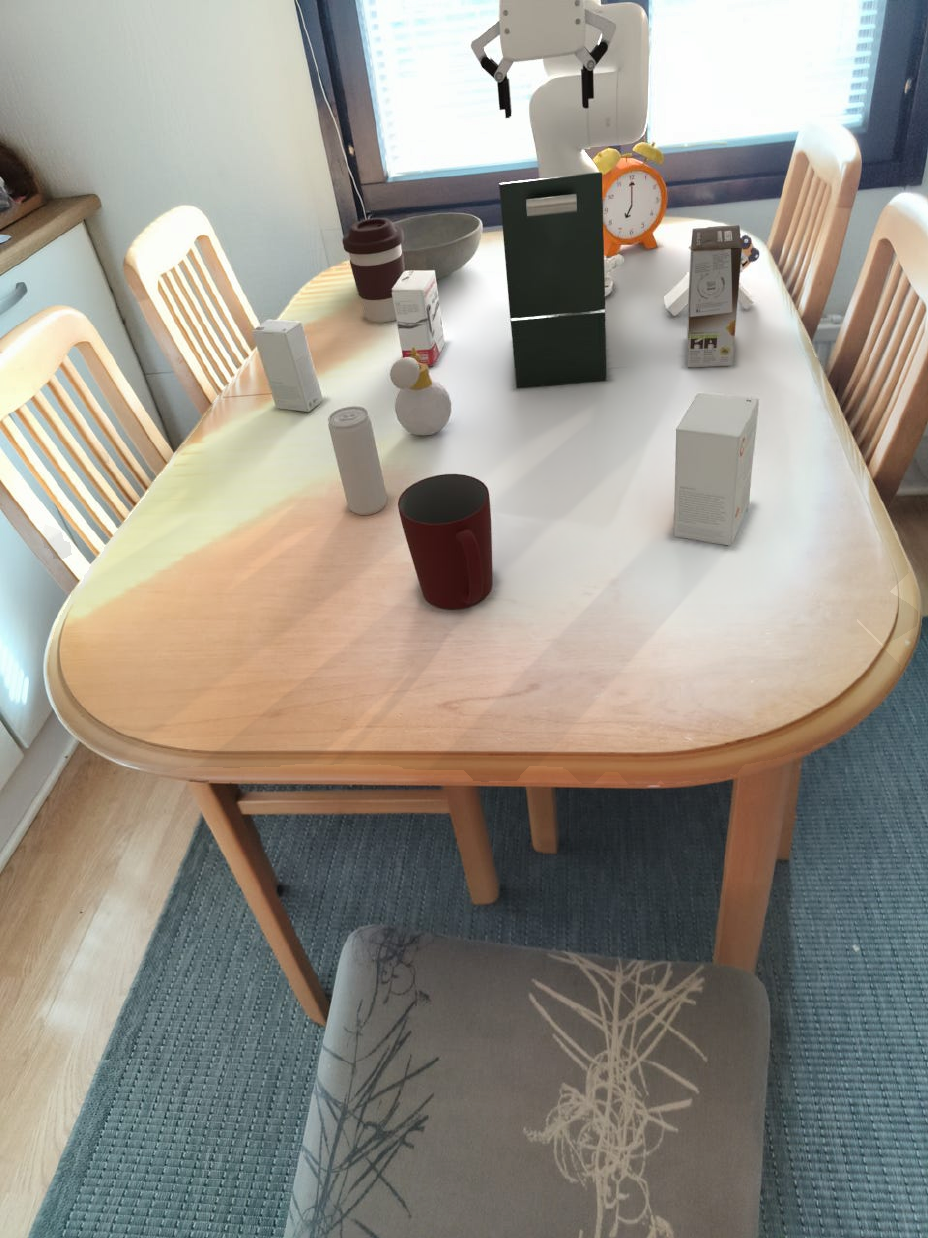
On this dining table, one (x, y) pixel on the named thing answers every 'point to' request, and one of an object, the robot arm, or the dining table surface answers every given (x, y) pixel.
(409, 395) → the perfume bottle
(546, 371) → the bin
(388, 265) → the coffee cup
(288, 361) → the cosmetic box
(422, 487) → the mug
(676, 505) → the small box
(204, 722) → the dining table surface
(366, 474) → the beverage can
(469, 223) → the bowl
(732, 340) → the coffee box
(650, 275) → the dining table surface
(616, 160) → the alarm clock
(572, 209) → the dark green block
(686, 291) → the figurine
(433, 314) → the ink box
